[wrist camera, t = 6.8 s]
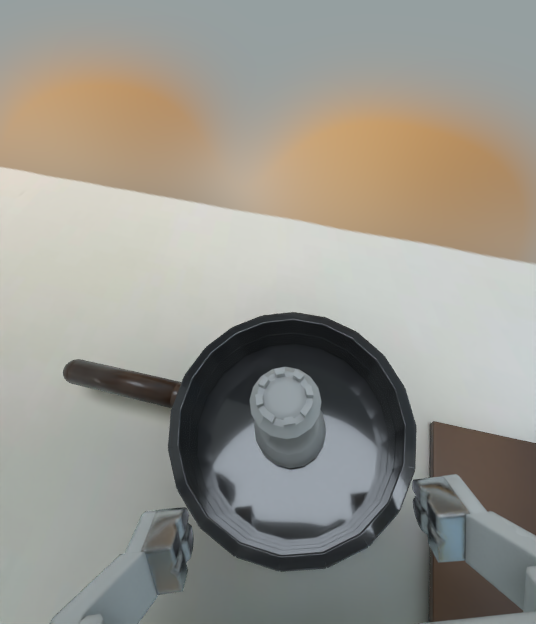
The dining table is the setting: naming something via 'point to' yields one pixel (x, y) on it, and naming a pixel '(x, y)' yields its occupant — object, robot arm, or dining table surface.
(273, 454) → the rook chess piece
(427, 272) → the dining table surface
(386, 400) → the pan
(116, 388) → the pan handle
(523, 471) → the plate
